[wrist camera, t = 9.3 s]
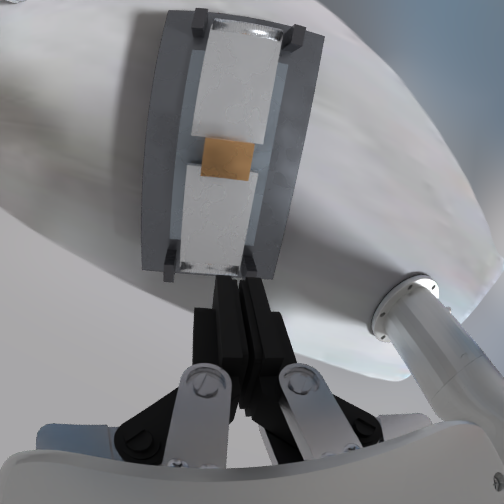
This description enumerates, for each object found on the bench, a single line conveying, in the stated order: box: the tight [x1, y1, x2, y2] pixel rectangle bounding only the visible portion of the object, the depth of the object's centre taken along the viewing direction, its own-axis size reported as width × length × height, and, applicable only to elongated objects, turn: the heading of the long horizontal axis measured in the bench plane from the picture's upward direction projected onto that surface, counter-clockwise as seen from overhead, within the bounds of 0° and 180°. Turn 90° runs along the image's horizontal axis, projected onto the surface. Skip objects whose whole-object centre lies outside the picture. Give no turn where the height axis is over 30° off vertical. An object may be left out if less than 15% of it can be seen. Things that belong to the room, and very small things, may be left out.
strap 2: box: [180, 163, 258, 276], centre depth 21 cm, size 9×5×1 cm, turn 170°
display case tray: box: [141, 8, 325, 282], centre depth 20 cm, size 12×22×8 cm, turn 170°
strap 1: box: [191, 18, 283, 145], centre depth 16 cm, size 9×5×1 cm, turn 170°
